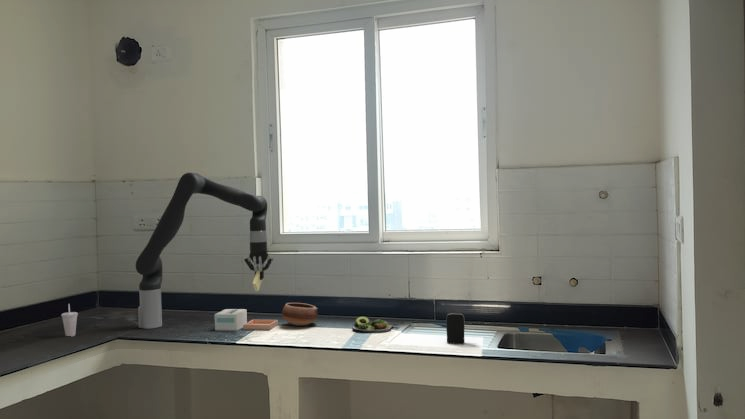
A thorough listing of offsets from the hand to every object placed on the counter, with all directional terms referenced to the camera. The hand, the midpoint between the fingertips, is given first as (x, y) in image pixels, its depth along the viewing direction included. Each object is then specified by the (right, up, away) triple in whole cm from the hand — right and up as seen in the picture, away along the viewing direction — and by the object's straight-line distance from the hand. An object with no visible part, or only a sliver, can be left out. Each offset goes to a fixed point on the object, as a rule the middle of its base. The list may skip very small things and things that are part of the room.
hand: (259, 279), depth 268 cm
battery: (+82, -20, -35) cm, 92 cm away
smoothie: (-80, -24, -7) cm, 84 cm away
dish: (+1, -21, +1) cm, 21 cm away
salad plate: (+50, -21, -7) cm, 54 cm away
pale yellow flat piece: (-1, -3, -5) cm, 6 cm away
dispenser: (-13, -21, +2) cm, 25 cm away
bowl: (+18, -21, +3) cm, 27 cm away
